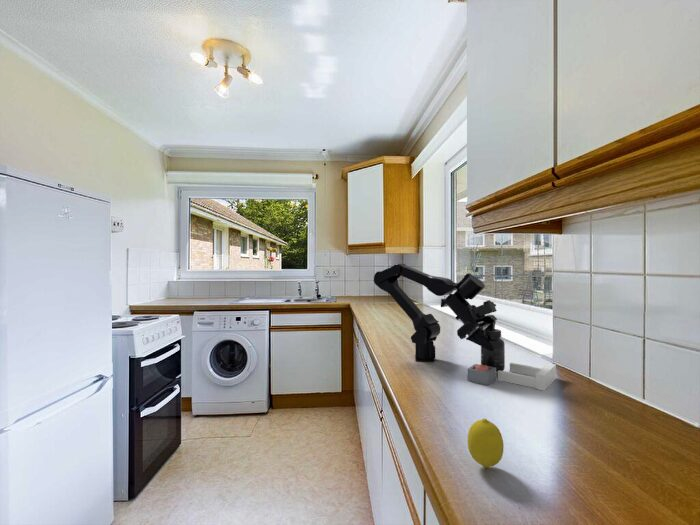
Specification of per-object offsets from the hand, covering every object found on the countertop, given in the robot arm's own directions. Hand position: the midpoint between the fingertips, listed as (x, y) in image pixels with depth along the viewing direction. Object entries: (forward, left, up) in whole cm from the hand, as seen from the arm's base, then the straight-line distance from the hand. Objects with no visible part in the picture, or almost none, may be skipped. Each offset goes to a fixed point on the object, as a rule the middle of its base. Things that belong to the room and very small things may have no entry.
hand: (497, 348), depth 104 cm
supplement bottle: (-1, +1, -7) cm, 7 cm away
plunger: (-6, -7, -7) cm, 12 cm away
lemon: (-15, -51, -8) cm, 54 cm away
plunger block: (-6, -7, -8) cm, 12 cm away
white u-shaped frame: (+7, -4, -8) cm, 11 cm away
